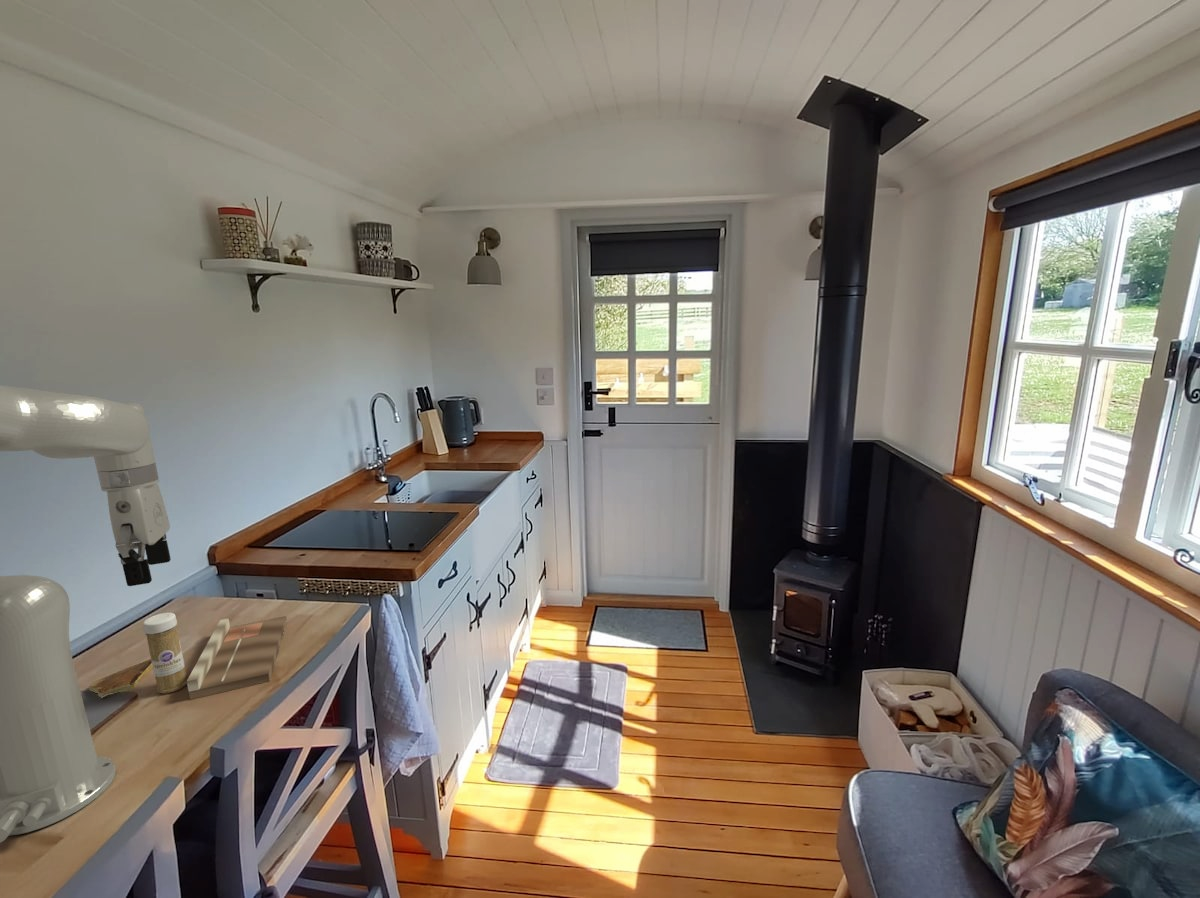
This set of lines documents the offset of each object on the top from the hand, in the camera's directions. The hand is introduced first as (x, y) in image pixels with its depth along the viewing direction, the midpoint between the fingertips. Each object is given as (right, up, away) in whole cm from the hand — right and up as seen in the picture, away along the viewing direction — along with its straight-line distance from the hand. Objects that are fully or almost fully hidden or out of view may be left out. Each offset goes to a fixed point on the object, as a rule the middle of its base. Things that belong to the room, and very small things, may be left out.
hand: (150, 573), depth 97 cm
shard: (-11, -22, +7) cm, 25 cm away
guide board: (+8, -19, +13) cm, 25 cm away
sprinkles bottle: (+1, -22, +4) cm, 22 cm away
